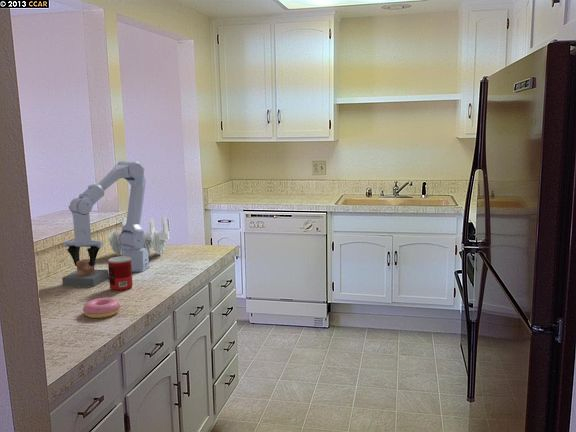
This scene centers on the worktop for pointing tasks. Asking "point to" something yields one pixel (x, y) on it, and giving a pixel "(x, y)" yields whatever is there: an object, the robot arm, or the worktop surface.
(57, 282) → the worktop surface
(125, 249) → the robot arm
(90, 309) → the doughnut
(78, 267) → the terracotta block
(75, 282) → the charcoal stand
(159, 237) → the white irregular piece
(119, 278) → the canned food
